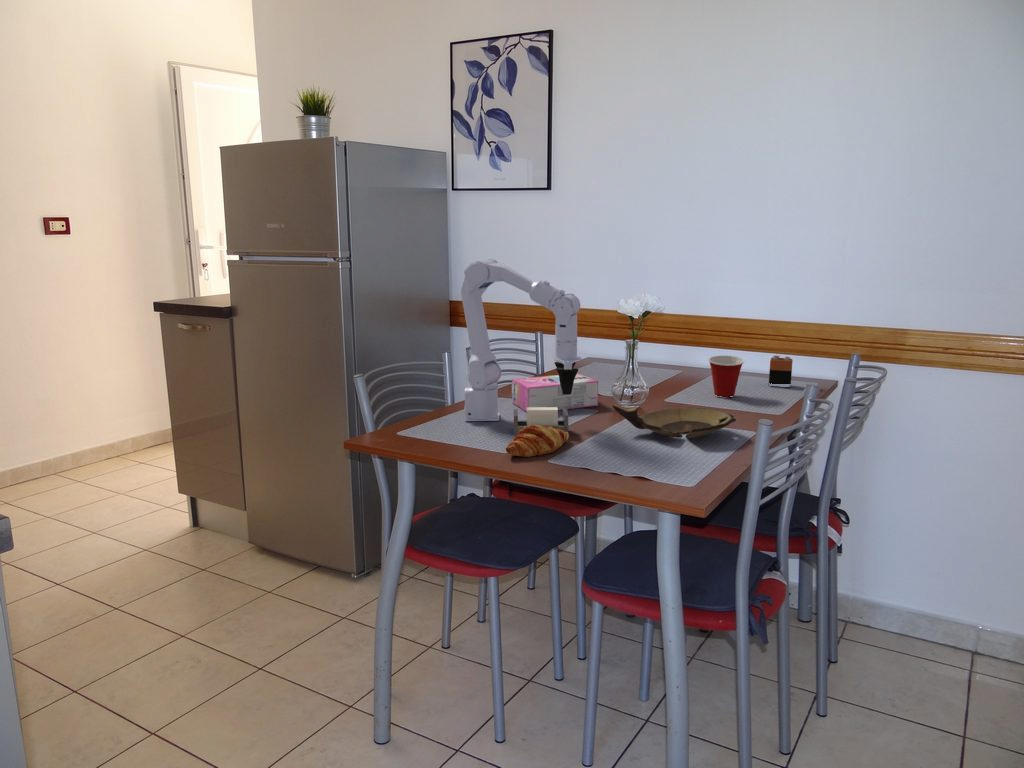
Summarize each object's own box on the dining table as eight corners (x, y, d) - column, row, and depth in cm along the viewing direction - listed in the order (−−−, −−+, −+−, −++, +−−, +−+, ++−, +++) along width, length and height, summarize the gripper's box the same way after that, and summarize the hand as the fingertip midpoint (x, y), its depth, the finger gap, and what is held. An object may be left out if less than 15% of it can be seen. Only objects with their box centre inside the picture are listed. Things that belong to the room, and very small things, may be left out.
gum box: (602, 406, 234) (583, 396, 246) (603, 380, 232) (583, 371, 244) (527, 413, 226) (511, 403, 238) (527, 387, 224) (511, 377, 237)
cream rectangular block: (527, 432, 204) (526, 410, 203) (526, 429, 207) (526, 407, 206) (557, 432, 204) (557, 410, 203) (557, 429, 207) (557, 407, 206)
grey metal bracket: (514, 437, 202) (513, 416, 201) (513, 429, 209) (513, 409, 208) (568, 436, 202) (568, 415, 201) (566, 429, 209) (566, 408, 208)
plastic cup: (707, 399, 241) (709, 361, 238) (705, 391, 251) (707, 355, 248) (744, 400, 239) (746, 362, 236) (740, 393, 249) (742, 355, 246)
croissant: (558, 452, 201) (548, 422, 202) (586, 441, 194) (575, 410, 195) (500, 469, 186) (489, 438, 187) (527, 458, 179) (516, 425, 180)
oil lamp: (722, 452, 188) (724, 421, 187) (605, 437, 202) (605, 408, 200) (742, 429, 208) (743, 401, 206) (633, 417, 221) (634, 390, 220)
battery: (769, 384, 262) (771, 354, 260) (790, 385, 259) (792, 355, 257) (768, 386, 258) (770, 356, 256) (790, 388, 255) (792, 358, 253)
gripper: (584, 345, 199) (583, 397, 202) (579, 336, 214) (578, 385, 216) (556, 345, 199) (556, 397, 202) (553, 336, 214) (553, 385, 216)
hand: (565, 391), depth 209 cm, fingers open, 7 cm apart
